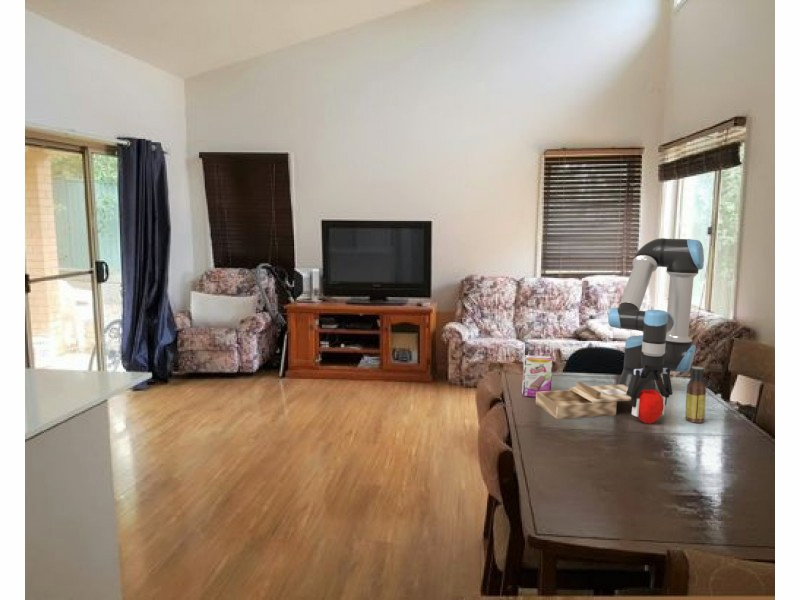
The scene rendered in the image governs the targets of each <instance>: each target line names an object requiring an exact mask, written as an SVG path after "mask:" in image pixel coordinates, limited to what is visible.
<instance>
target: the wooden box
mask: <svg viewBox="0 0 800 600" xmlns="http://www.w3.org/2000/svg"><path fill="white" fill-rule="evenodd" d="M535 405H536V406H537V407H539V408H540V409H542V410H543V411H544V412H547V413H548V414H549V415H551V416H552V417H554V418H555V419H556V420H561V419H576V418H578V419H579V418H592V417H594V418H595V417H607V416H610V417H611V416H616V415H617V405H618V401H614V402H597V403H593V402H591V401H589V400H588V399H586V398H584V397H582V396H580V395H579V394H577V393H575V392H573V391H572V390H570V389H564V390H551V391H540V392H536V397H535Z"/></svg>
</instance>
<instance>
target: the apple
mask: <svg viewBox="0 0 800 600" xmlns="http://www.w3.org/2000/svg"><path fill="white" fill-rule="evenodd" d="M638 398H639V399H640V401H639V413H638V417H637V418H638V419H639V421H641V422H643V423H644V424H647V425H648V424H649V425H651V424H654V423H655V422H657V421H658V420H659V418H660V417H661V416H662V415H661V414H662V411H663V407H664V405H663V399H662V395H661V393H660V392H659V391H657V390H656V391H655V390H650V389H649V390H642V391H641V393H640V395H639V396H638Z"/></svg>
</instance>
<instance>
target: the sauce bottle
mask: <svg viewBox="0 0 800 600" xmlns="http://www.w3.org/2000/svg"><path fill="white" fill-rule="evenodd" d="M704 370H705V368H704V367H702V366H696V365H695V366H691V368H690V372H691V376H690V380H689V381H688V383H687V384H686V395H685V399H686V400H685V401H686V402H685V415H684V416H685V420H686V421H688V422H689V421H690V423H694V424H701V423H704V421H705V416H706V415H705V414H706V401H707V400H706V398H707V397H706V396H707V393H706V392H707V386H706V384H705V382H704V378H703V377H704Z"/></svg>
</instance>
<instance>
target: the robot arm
mask: <svg viewBox="0 0 800 600" xmlns="http://www.w3.org/2000/svg"><path fill="white" fill-rule="evenodd" d="M703 247H704V246H703V243H702V242H701V241H700V240H699V239H691V238H664V237H663V238H662V237H661V238H655V239H653V240H650V241H647V243H645V244H644V245H643V246H641V247H640V249H638V250H637V252H636V253H635V255H634V257H633V260H632V263H631V264H632V270H631V272H630V275H629V277H628V280H627V282H626V286H625V289H624V291H623V293H622V296H621V299H620V301H619V304H618V307H612V308H610V310H609V313H608V316H607V317H608V318H607V321H608V326H609V327H610V328H615V329H619V330H621V329H623V330H631V331H640V332H642V335H632V336H629V337H627V338H626V339H625V346H624V357H623V370H622V372H621V375H620V377H619V380H618V381H617V385H625V386H628V390H627V393H626V395H628V396H630V397H631V401H630V406H631V407H632V408H631V415H632V416H634V417H637V418H639V417H638V413H639V401H640V399H639V398H638V396H639V395H640V393H641V391H642V390H649V389H650V390H655V391H657V390H656V389H657V388H658V392H659V394H660V395H661V396H662V399H663V405H664V407H663V411H662V414H661V416H664V415H665V407H666V406H667V403H668V401H667V400H668V398H670V396H672V395H673V393H674V392H673V387H672V382H671V371H673V372H675V373H679V372H680V373H687V372H690V370H691V367H692V365H693V362H694V358H695V354H696V348H697V347H696V345H694V344H693V340H692V338H691V337H690V336H689V333H690V323H691V322H690V321H691V311H692V309H691V308H692V299H693V290H694V289H693V287H694V278H695V277H696V276H697V275H699V271H701V270H703V269H704V264H705V263H704V261H705V253H704V248H703ZM659 267H660V268H661V267H662V268H666V273H667V275H669V285H668V298H667V308H666V311H665V310H662V309H648V310H640V309H641V307H642V303H643V301H644V298H645V295H646V292H647V290H648V286H649V284H650V280H651V278H652V274H653V273H654V272H655V271H656V270H657V269H658V268H659ZM661 375H662V376H661Z"/></svg>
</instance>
